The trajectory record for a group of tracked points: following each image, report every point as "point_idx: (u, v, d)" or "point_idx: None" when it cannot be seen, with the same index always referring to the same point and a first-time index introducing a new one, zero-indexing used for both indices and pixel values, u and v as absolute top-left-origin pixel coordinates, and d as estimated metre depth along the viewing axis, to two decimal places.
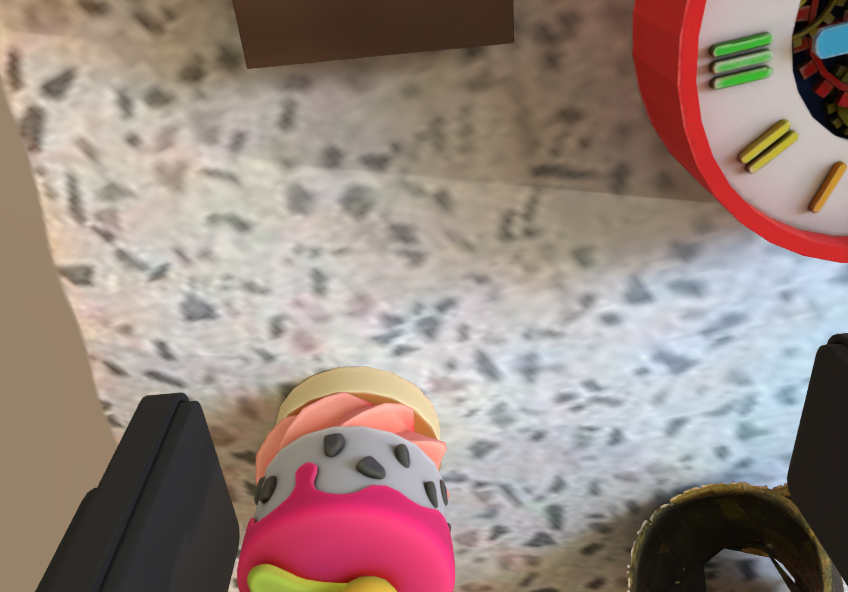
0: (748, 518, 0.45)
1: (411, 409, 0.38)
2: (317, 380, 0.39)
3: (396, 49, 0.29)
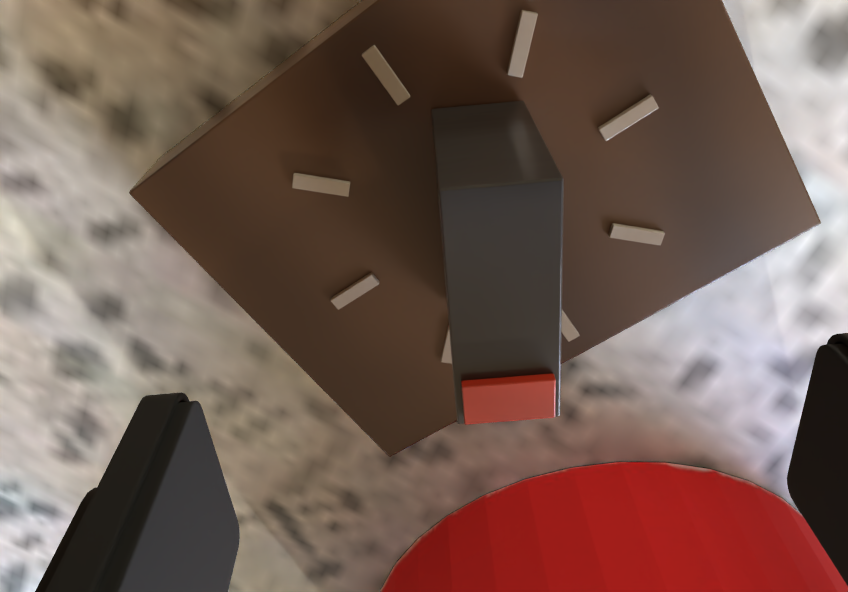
0: None
1: None
2: None
3: (295, 353, 0.20)
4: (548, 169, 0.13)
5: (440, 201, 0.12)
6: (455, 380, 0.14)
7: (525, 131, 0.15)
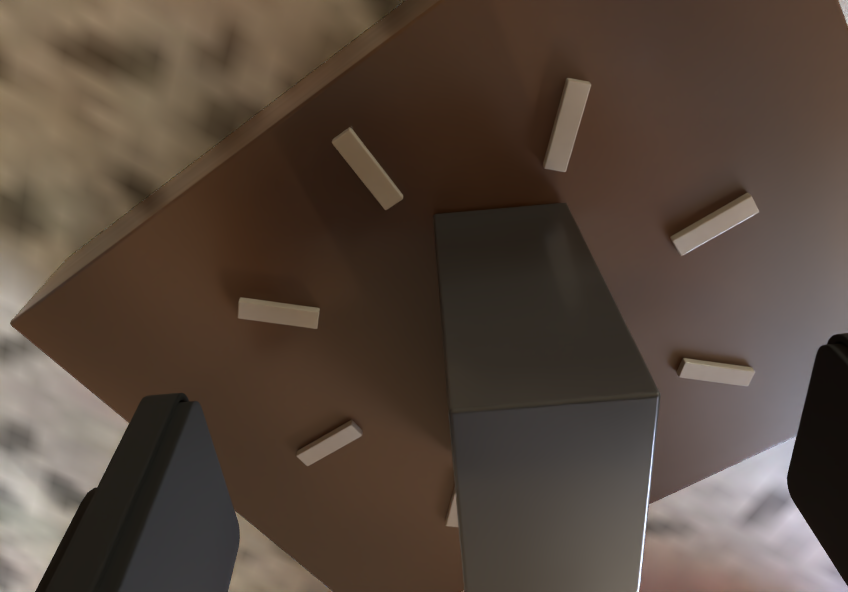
0: None
1: None
2: None
3: (251, 515, 0.15)
4: (630, 368, 0.08)
5: (452, 427, 0.07)
6: None
7: (578, 269, 0.10)
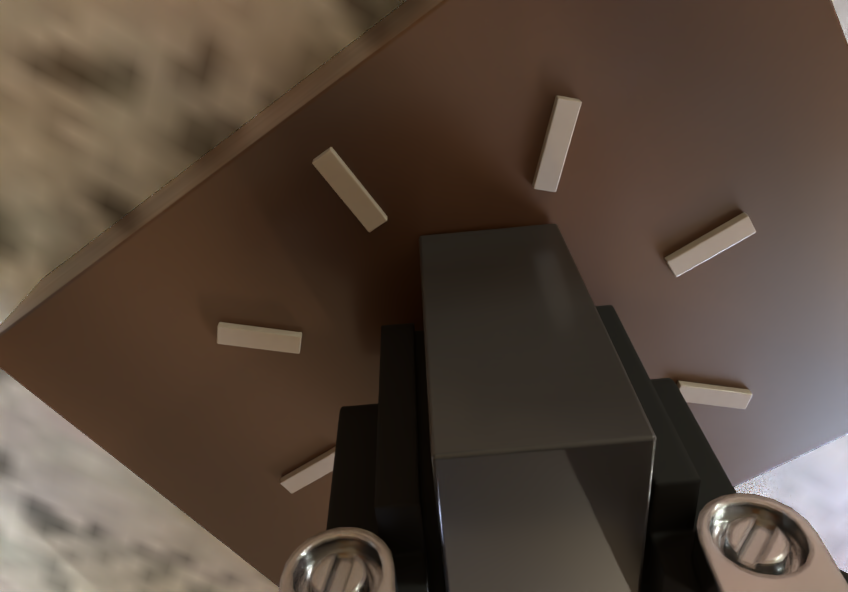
0: None
1: None
2: None
3: (234, 543, 0.15)
4: (624, 407, 0.07)
5: (435, 473, 0.07)
6: None
7: (569, 297, 0.09)
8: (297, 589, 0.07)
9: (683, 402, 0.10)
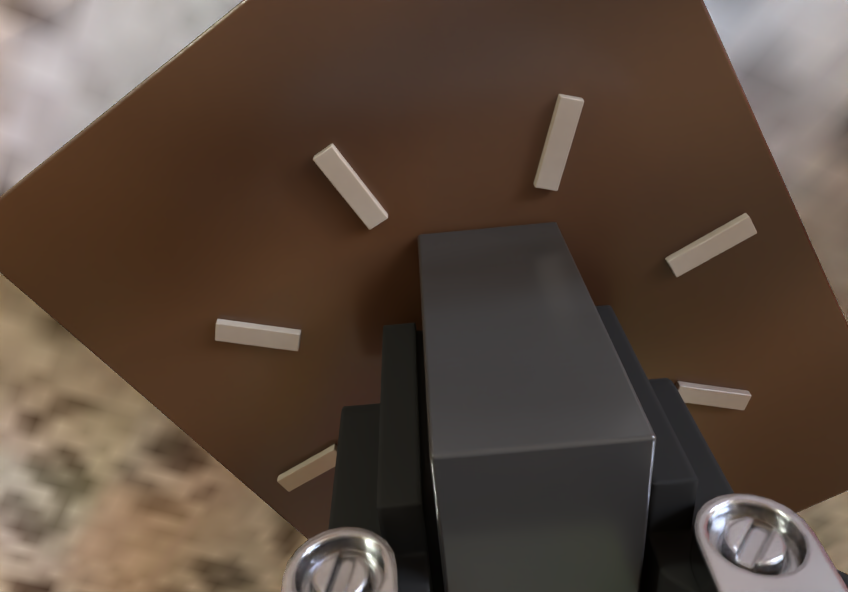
0: None
1: None
2: None
3: None
4: (624, 407, 0.07)
5: (434, 473, 0.07)
6: None
7: (568, 296, 0.09)
8: (300, 589, 0.07)
9: (681, 402, 0.10)
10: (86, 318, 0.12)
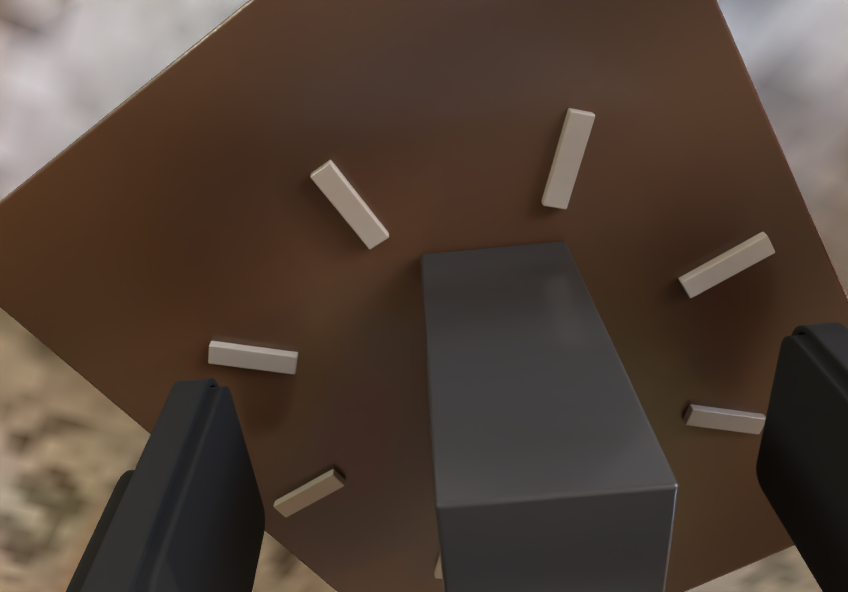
0: None
1: None
2: None
3: (694, 582, 0.15)
4: (643, 450, 0.07)
5: (439, 523, 0.06)
6: None
7: (580, 323, 0.09)
8: None
9: None
10: (74, 340, 0.11)
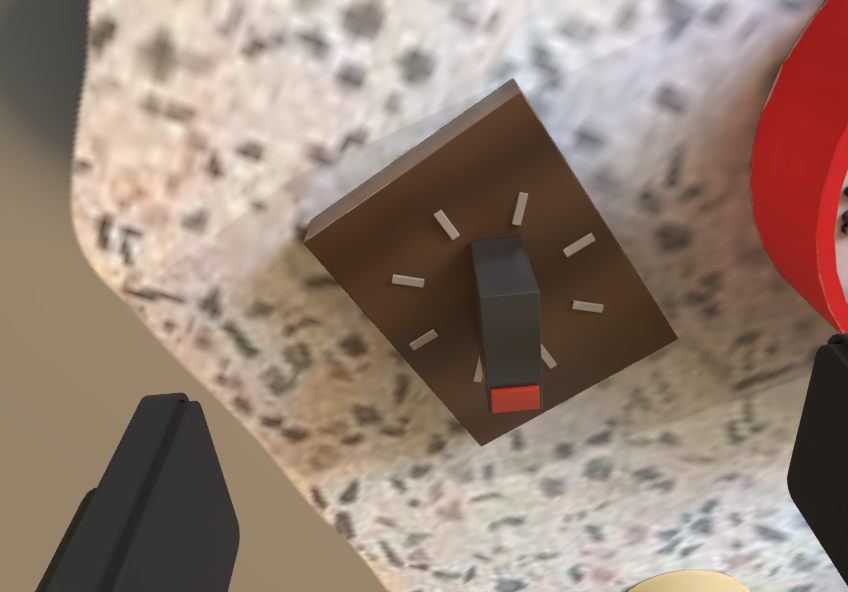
0: None
1: None
2: None
3: (586, 386, 0.34)
4: (532, 285, 0.26)
5: (480, 302, 0.26)
6: (487, 389, 0.28)
7: (521, 260, 0.28)
8: None
9: None
10: (343, 274, 0.31)
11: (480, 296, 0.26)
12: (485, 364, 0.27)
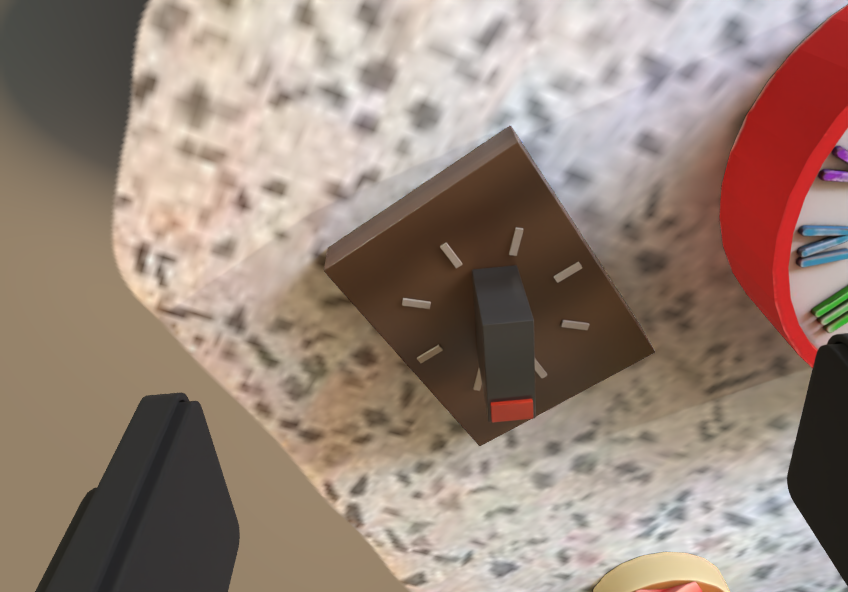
0: None
1: (694, 582, 0.47)
2: (610, 581, 0.49)
3: (573, 393, 0.38)
4: (527, 314, 0.30)
5: (483, 329, 0.30)
6: (487, 402, 0.32)
7: (517, 288, 0.32)
8: None
9: None
10: (359, 298, 0.35)
11: (482, 324, 0.30)
12: (486, 381, 0.31)
